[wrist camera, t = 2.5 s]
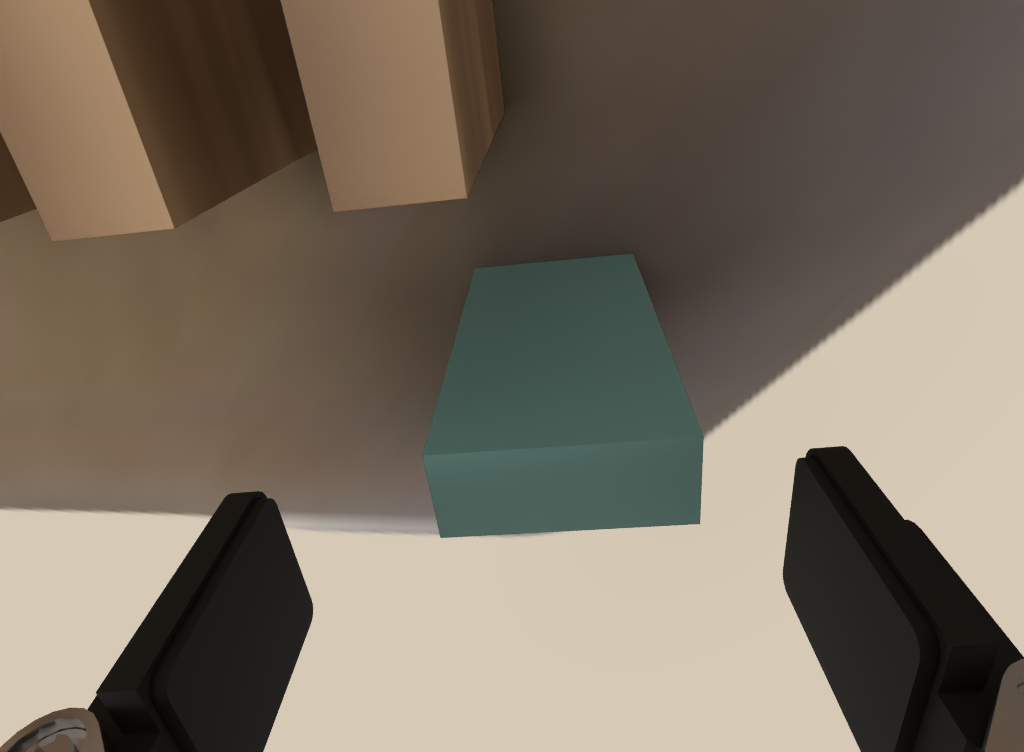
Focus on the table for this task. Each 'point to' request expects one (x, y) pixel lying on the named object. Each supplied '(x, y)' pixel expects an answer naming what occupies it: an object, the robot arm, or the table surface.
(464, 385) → the tile
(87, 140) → the brown flat rectangular block
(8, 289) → the table surface
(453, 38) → the tile
